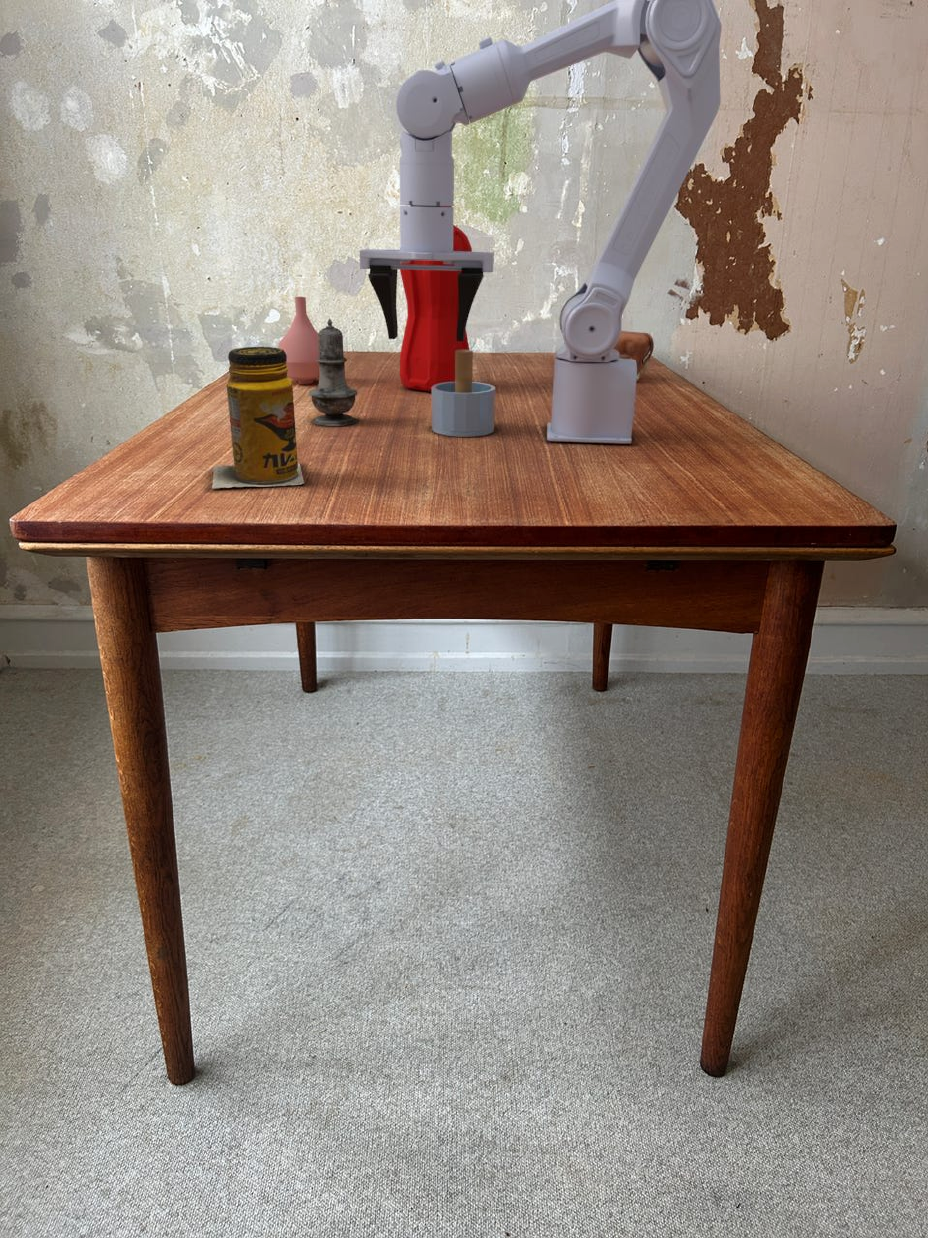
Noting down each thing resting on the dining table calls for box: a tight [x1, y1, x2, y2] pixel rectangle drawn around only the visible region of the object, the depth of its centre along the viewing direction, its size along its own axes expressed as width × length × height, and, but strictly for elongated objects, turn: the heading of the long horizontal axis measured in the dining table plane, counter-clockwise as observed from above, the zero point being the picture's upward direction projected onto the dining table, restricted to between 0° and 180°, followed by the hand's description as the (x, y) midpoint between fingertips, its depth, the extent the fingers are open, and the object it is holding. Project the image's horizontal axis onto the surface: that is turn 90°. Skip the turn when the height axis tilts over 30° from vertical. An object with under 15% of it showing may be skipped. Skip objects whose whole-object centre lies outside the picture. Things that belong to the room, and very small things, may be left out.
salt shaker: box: [308, 318, 359, 427], centre depth 106 cm, size 6×6×12 cm
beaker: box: [431, 381, 497, 438], centre depth 105 cm, size 7×7×5 cm
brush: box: [455, 349, 474, 393], centre depth 104 cm, size 3×3×8 cm
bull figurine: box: [613, 330, 655, 382], centre depth 139 cm, size 4×13×8 cm, turn 42°
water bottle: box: [399, 206, 473, 393], centre depth 126 cm, size 9×11×25 cm
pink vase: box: [277, 296, 320, 385], centre depth 130 cm, size 8×8×12 cm
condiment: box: [211, 346, 305, 489], centre depth 84 cm, size 7×8×12 cm
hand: (426, 339), depth 101 cm, fingers open, 7 cm apart
